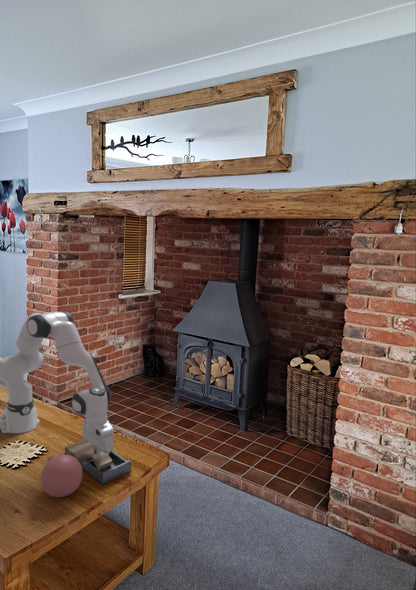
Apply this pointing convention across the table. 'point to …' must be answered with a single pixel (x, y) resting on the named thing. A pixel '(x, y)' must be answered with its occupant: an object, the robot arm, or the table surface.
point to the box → (108, 468)
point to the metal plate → (81, 451)
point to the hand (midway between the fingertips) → (96, 453)
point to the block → (101, 460)
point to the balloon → (61, 475)
